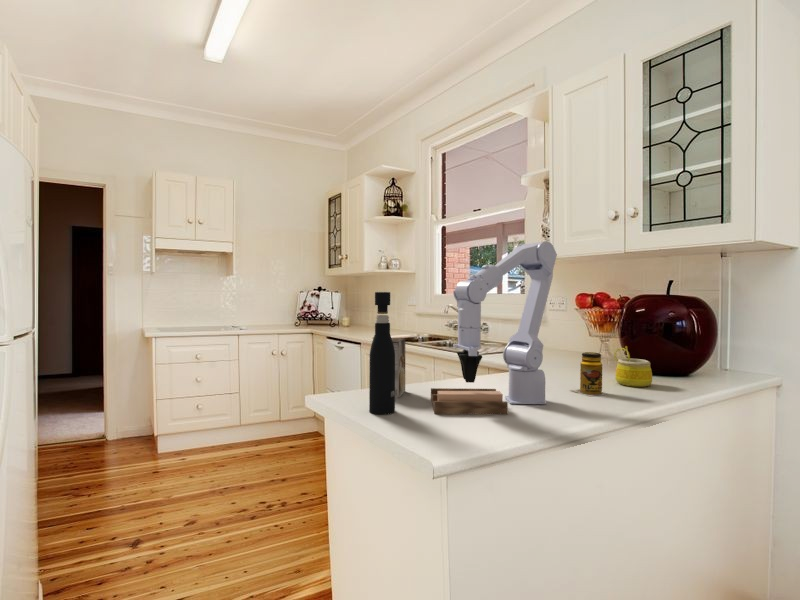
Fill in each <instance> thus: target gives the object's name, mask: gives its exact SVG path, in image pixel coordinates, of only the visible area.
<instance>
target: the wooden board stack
mask: <svg viewBox="0 0 800 600" xmlns="http://www.w3.org/2000/svg"><path fill="white" fill-rule="evenodd" d="M437 391H497V389H496V388H452V387H451V388H450V387H449V388H442V387H441V388H438V387H437V388H435V387H433V388H430V401H431V405H432V408H433V409H432V410H433V413H434V415H501V416H502V415H508V407H509V405H508V402H509V401H508V400H506V401H505V400H504V401H437Z"/></svg>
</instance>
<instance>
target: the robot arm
mask: <svg viewBox="0 0 800 600" xmlns="http://www.w3.org/2000/svg"><path fill="white" fill-rule="evenodd" d="M555 249H556V248H555V247H554V245H553V244H552V242H550V241H548V240H546V241H545V240H544V241H541V242H531V243H519V244H518V246H515V247H514V248H512V251H511V252H510V253H508V254H507V255H506V256H504V257H503V258H502V259H501V260H499V261H498V262H497V263H496V264H495V265H494V264H483V265H482V266H481V269H480V270H479V271H477V272H476V273H474V274H471V275H469V278H468V279H467V280H466V279H465V280H460V281H459V282H457V284H456V286H455V288H454V290H453V297H454V299H455V301H456V307H457V309H458V310H457V311H458V312H457V343H453V348H457V349H461V350H462V351H456V354H457V356H458V359H459V362H460V367H461V373H462V378H463V380H465V383H475V381H476V378H477V376H476V375H477V372H478V368H479V365H480V363H481V360H482V359H483V355H482V354H480V351H479V350H481V348H482V344H481V343H482V341H481V340H482V339H481V334H482V333H481V332H482V328H481V327H482V325H481V324H482V323H481V321H482V318H481V317H482V302H484V301H485V299H486V297H487V294H488V293H490V291H491V290H493V289H494V288H496V287H497V286H498V285H500V284H501V283H502V282H503V278H504V277H503V276H504V275H507V274H508V273H509V272H511V271H512V270H514V269H516V268H517V267H519V266H520V267H521V268H522V269H523V271H524V273H526V275H528V276H529V277H530V284H529V288H528V290H527V295H526V299H525V303H524V307H523V309H522V314H521V316H520V317H521V318H520V322H519V325H518V330H517V332H516V333H514V334H513V335H512V336H511V337H509V340H508V343H507V344H506V346H505V347H504V349H503V351H502V358H503V361H504V362H505V364H506V365H507V366H506V368H508V395H504V398H505V399H506V401H507V402H509V404H510V405H546V404H547V402H546V375H545V371H544V370H543V369H539V368H540V367H541V366H542V363H543V357H544V356H543V350H544V347H545V346H544V344H543V342H542V341H541V340H540V338H539V337H538V336H539V332H540V328H541V325H542V321H543V316H544V313H545V309H546V305H547V302H548V297H549V293H550V289H551V286H552V281H553V276H554V268H555V264H556V261H557V260H556V259H557V257H558V254H557V252H556V250H555Z"/></svg>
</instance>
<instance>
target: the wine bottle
mask: <svg viewBox="0 0 800 600" xmlns="http://www.w3.org/2000/svg"><path fill="white" fill-rule="evenodd" d="M374 306H377V312H376V314H377V315H376V317H375V319H376V320H375V323H374V336H373V339H372V342H371V346H370V350H369V376H368V377H369V382H368V383H369V386H368V387H369V392H368V393H369V396H368V397H369V398H368V399H369V400H368V401H369V404H368V405H369V411H368V412H369V413H370V414H372V415H379V416H385V415H391V414H394V413H395V412H396V398H395V350H394V345H393V342H392V338H393V337H392V336H391V323H390V322H389V321H390V317H389V315H387V314H388V311H389V310H388V309H389V308H388V306H391V292H390V291H375V292H374Z"/></svg>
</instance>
